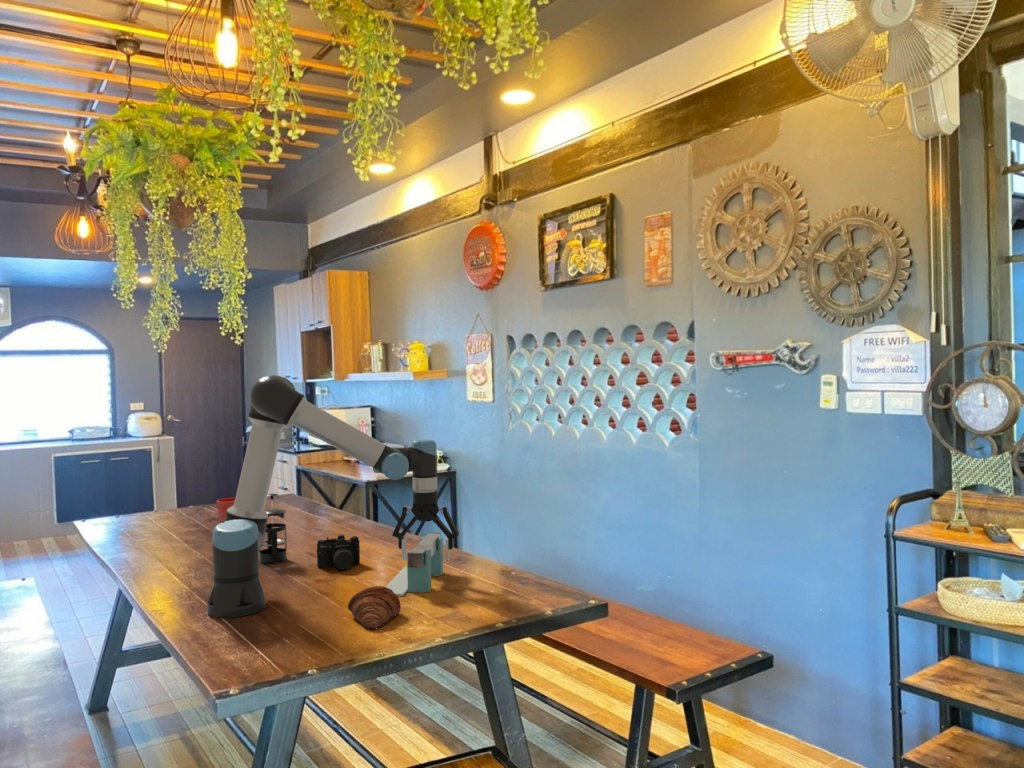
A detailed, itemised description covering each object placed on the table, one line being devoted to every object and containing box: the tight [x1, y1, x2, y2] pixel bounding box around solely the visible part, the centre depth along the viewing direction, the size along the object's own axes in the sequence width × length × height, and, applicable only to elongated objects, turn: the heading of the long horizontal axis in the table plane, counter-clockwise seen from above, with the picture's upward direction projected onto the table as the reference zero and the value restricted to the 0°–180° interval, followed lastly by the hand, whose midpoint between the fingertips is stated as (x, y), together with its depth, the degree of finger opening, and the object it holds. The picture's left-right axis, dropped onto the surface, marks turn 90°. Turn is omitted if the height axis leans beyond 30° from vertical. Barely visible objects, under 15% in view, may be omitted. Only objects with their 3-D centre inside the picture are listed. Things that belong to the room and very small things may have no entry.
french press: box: [258, 493, 288, 565], centre depth 259 cm, size 12×9×23 cm
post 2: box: [420, 535, 444, 577], centre depth 239 cm, size 4×6×12 cm, turn 84°
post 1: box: [406, 549, 432, 593], centre depth 221 cm, size 4×6×12 cm, turn 84°
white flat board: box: [385, 566, 408, 597], centre depth 231 cm, size 30×7×1 cm, turn 174°
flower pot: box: [216, 497, 236, 523], centre depth 329 cm, size 11×11×10 cm
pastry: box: [347, 585, 401, 630], centre depth 197 cm, size 17×15×8 cm
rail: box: [408, 532, 442, 568], centre depth 230 cm, size 28×4×4 cm, turn 174°
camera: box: [316, 534, 361, 571], centre depth 248 cm, size 14×11×10 cm
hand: (426, 559), depth 230 cm, fingers open, 13 cm apart
